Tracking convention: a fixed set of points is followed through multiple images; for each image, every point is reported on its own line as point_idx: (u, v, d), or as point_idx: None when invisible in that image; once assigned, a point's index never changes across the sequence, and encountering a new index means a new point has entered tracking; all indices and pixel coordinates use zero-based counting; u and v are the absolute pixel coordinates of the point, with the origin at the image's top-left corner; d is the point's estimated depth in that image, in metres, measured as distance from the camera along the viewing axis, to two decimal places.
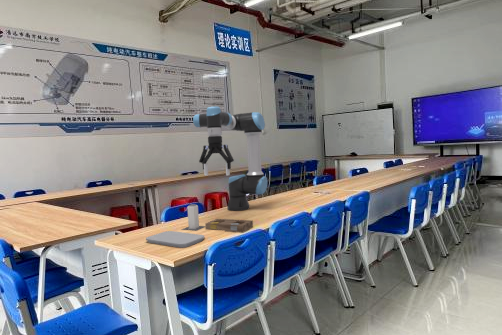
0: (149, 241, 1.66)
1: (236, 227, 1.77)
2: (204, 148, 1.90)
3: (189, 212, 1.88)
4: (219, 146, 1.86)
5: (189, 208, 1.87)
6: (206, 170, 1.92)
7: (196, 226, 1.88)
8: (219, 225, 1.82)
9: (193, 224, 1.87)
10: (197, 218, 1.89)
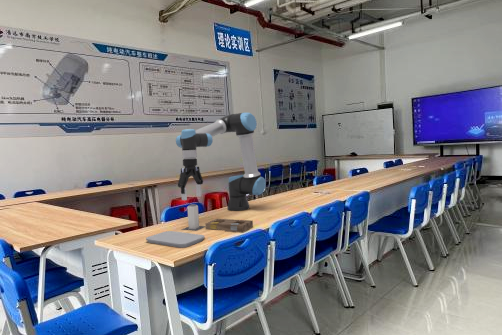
0: (149, 241, 1.66)
1: (236, 227, 1.77)
2: None
3: (189, 212, 1.88)
4: None
5: (189, 208, 1.87)
6: (197, 191, 1.94)
7: (196, 226, 1.88)
8: (219, 225, 1.82)
9: (193, 224, 1.87)
10: (197, 218, 1.89)
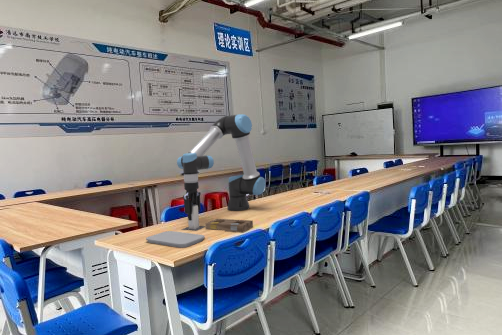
0: (149, 241, 1.66)
1: (236, 227, 1.77)
2: None
3: None
4: None
5: None
6: None
7: (196, 226, 1.88)
8: (219, 225, 1.82)
9: None
10: (197, 218, 1.89)
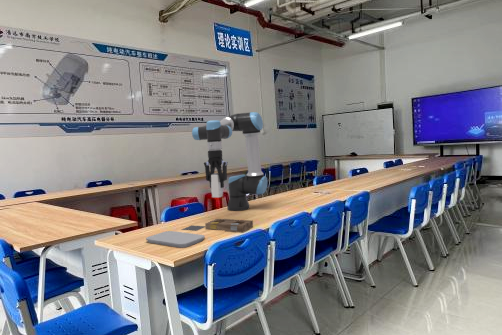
0: (149, 241, 1.66)
1: (236, 227, 1.77)
2: (205, 165, 1.88)
3: (218, 180, 1.85)
4: (219, 160, 1.84)
5: (218, 176, 1.85)
6: None
7: None
8: (219, 225, 1.82)
9: None
10: None
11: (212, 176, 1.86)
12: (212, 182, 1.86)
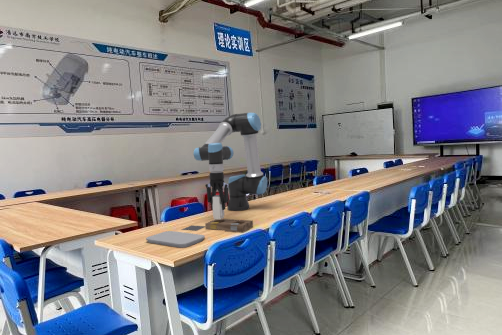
0: (149, 241, 1.66)
1: (236, 227, 1.77)
2: (207, 186, 1.88)
3: (220, 202, 1.86)
4: (221, 183, 1.85)
5: None
6: None
7: None
8: (219, 225, 1.82)
9: None
10: None
11: (214, 198, 1.86)
12: (214, 204, 1.87)
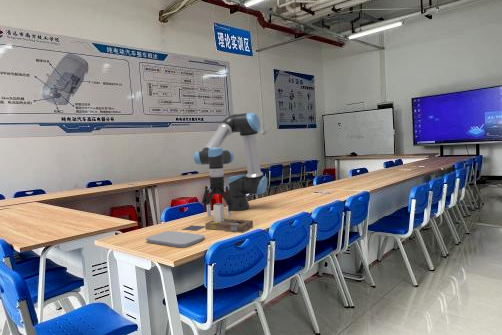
0: (149, 241, 1.66)
1: (236, 227, 1.77)
2: (206, 189, 1.89)
3: (221, 211, 1.86)
4: (221, 187, 1.85)
5: (221, 207, 1.86)
6: (209, 211, 1.90)
7: None
8: (219, 225, 1.82)
9: None
10: None
11: (214, 206, 1.87)
12: (214, 212, 1.87)
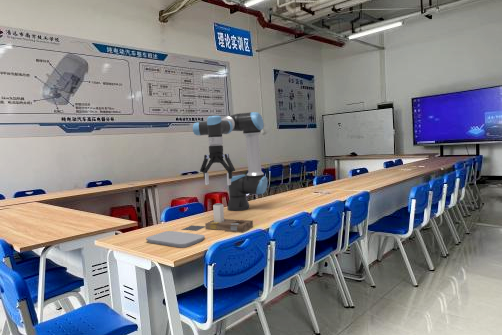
0: (149, 241, 1.66)
1: (236, 227, 1.77)
2: (205, 157, 1.88)
3: (220, 211, 1.86)
4: (220, 155, 1.85)
5: (220, 207, 1.86)
6: (207, 180, 1.90)
7: None
8: (219, 225, 1.82)
9: None
10: None
11: (214, 206, 1.87)
12: (214, 212, 1.87)
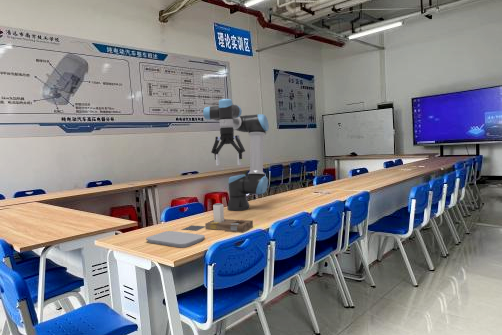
0: (149, 241, 1.66)
1: (236, 227, 1.77)
2: (216, 139, 1.98)
3: (220, 211, 1.86)
4: (231, 137, 1.94)
5: (220, 207, 1.86)
6: (218, 160, 1.99)
7: None
8: (219, 225, 1.82)
9: None
10: None
11: (214, 206, 1.87)
12: (214, 212, 1.87)
